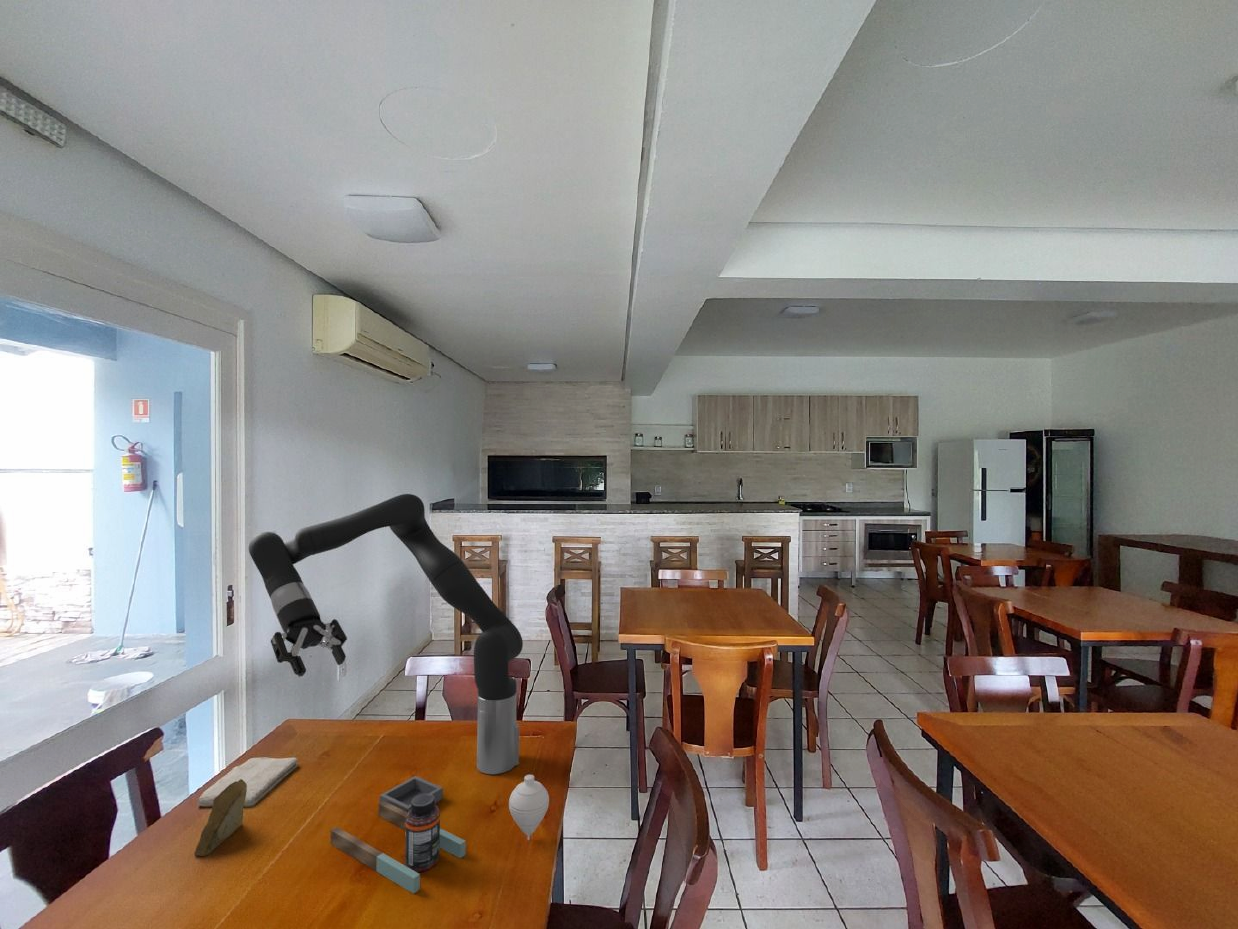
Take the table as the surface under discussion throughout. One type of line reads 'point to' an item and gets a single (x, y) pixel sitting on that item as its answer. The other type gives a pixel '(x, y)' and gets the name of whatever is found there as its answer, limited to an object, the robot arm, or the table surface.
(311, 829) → the table surface
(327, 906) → the table surface
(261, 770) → the washcloth
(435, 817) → the supplement bottle
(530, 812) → the spinning top
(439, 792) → the grey square tray
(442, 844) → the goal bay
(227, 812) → the rock
